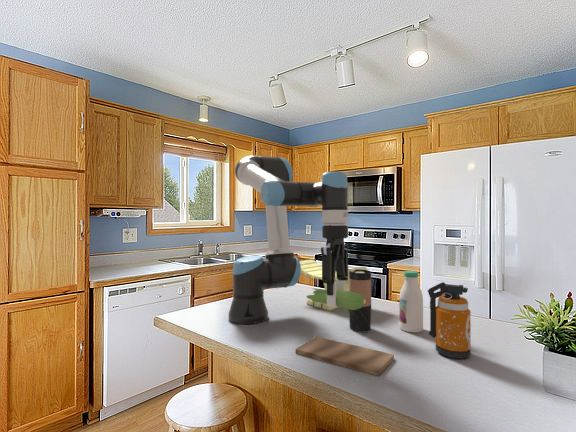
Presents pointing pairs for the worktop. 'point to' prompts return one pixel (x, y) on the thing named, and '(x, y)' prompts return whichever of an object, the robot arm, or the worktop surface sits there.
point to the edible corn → (340, 299)
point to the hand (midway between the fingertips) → (336, 303)
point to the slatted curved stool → (315, 271)
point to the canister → (450, 320)
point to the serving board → (346, 355)
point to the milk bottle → (411, 304)
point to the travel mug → (362, 285)
